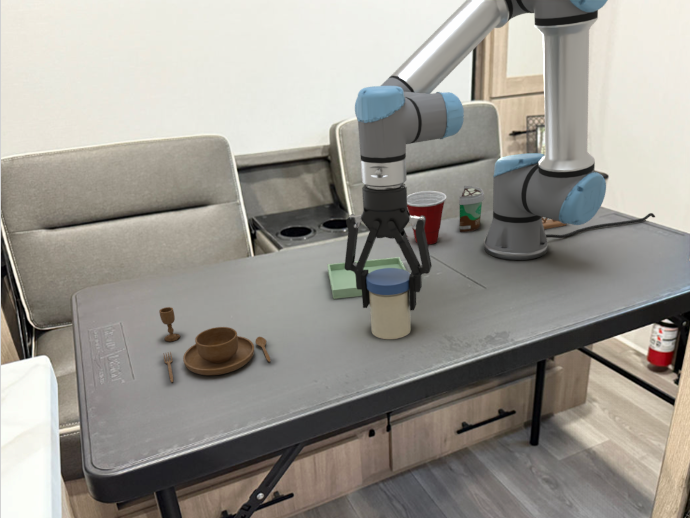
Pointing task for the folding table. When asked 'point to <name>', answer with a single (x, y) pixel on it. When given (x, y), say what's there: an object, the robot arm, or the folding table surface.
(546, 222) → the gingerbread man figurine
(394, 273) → the lid
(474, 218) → the food container
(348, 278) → the tray
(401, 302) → the jar
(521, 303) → the folding table surface
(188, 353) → the place setting
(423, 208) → the plastic cup
